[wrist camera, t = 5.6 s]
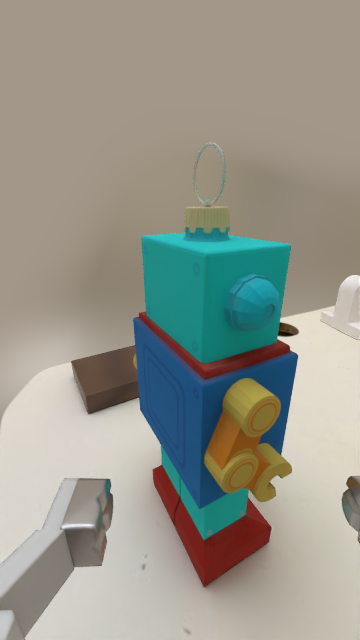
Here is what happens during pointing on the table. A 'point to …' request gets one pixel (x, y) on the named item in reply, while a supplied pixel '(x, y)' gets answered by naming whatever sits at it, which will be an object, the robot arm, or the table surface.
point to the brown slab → (107, 378)
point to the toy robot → (215, 380)
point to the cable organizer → (346, 308)
